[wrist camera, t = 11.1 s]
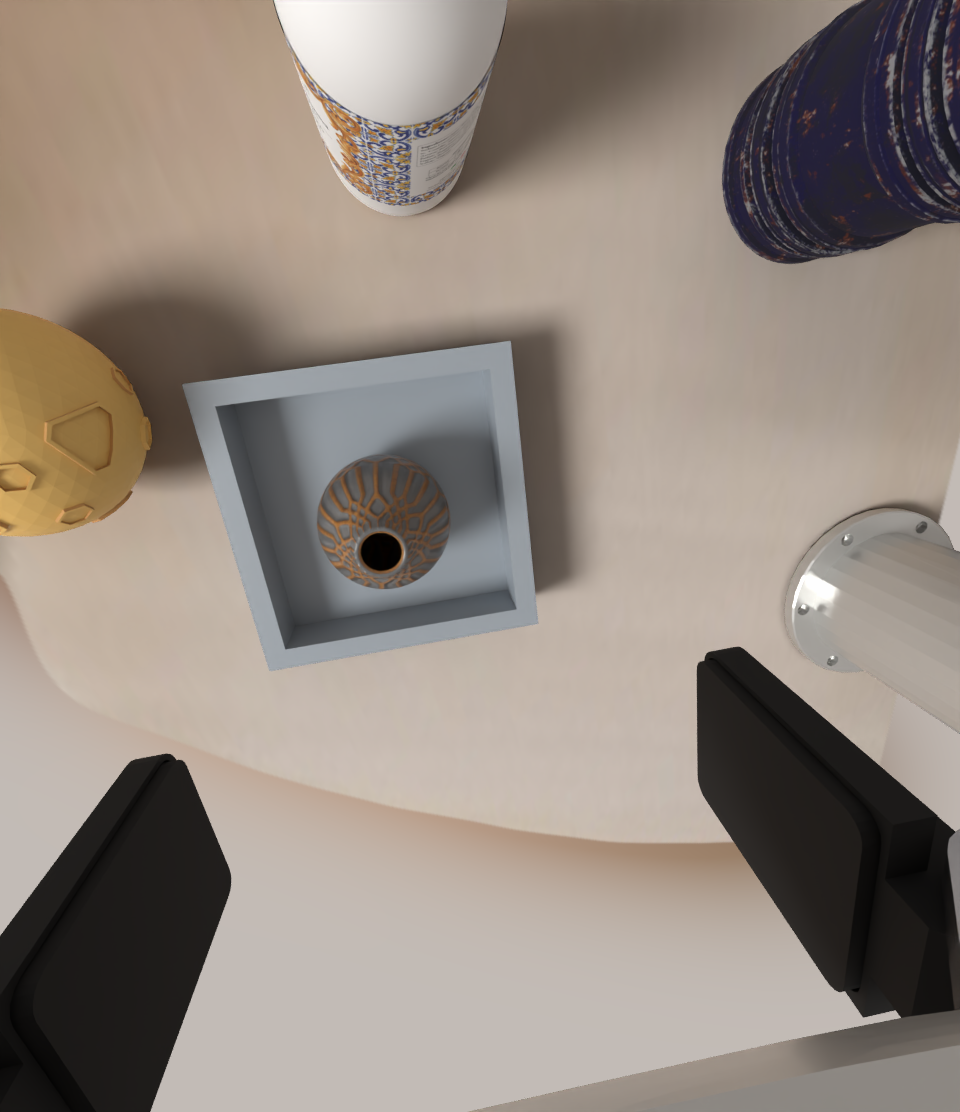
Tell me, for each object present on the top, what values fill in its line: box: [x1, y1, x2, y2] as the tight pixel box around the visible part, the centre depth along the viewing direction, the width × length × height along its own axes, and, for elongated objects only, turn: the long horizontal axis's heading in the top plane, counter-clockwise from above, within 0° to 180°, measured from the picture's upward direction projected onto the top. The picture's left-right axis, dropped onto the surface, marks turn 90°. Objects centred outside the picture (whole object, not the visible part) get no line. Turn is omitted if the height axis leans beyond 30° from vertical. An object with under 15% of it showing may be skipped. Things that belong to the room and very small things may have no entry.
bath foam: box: [273, 0, 508, 216], centre depth 17 cm, size 7×7×20 cm
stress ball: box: [0, 309, 152, 536], centre depth 24 cm, size 10×10×10 cm
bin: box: [182, 341, 538, 671], centre depth 31 cm, size 16×16×4 cm
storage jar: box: [722, 0, 960, 264], centre depth 22 cm, size 10×10×15 cm
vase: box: [317, 454, 451, 589], centre depth 28 cm, size 7×7×9 cm
